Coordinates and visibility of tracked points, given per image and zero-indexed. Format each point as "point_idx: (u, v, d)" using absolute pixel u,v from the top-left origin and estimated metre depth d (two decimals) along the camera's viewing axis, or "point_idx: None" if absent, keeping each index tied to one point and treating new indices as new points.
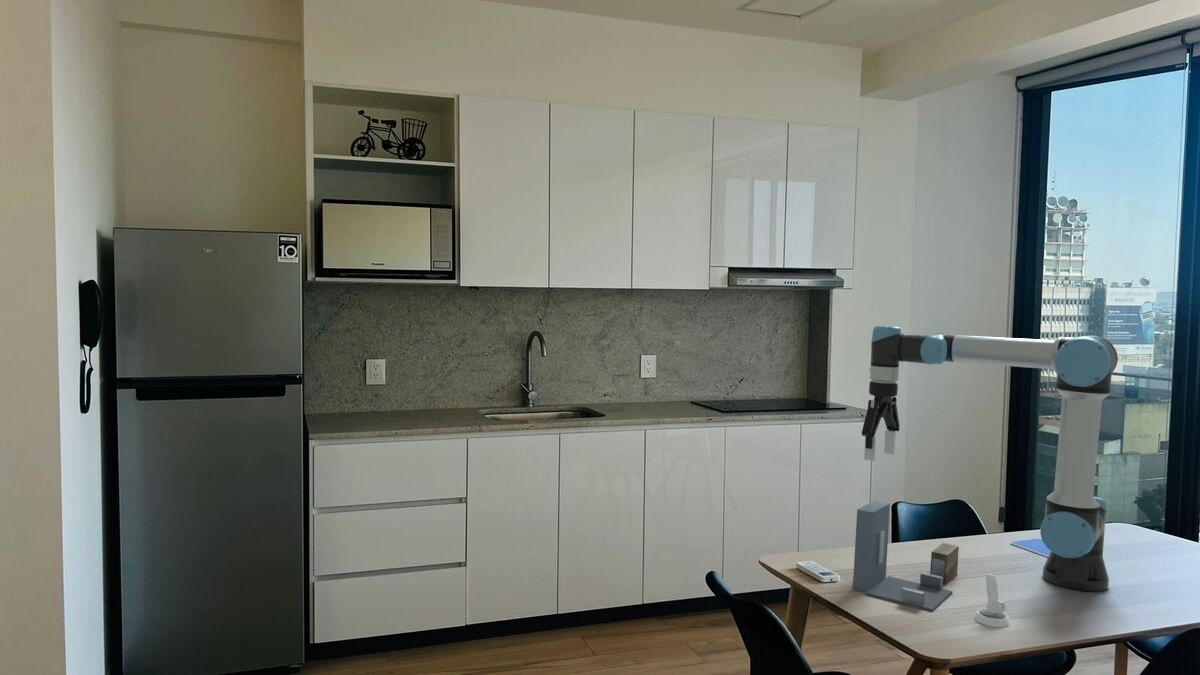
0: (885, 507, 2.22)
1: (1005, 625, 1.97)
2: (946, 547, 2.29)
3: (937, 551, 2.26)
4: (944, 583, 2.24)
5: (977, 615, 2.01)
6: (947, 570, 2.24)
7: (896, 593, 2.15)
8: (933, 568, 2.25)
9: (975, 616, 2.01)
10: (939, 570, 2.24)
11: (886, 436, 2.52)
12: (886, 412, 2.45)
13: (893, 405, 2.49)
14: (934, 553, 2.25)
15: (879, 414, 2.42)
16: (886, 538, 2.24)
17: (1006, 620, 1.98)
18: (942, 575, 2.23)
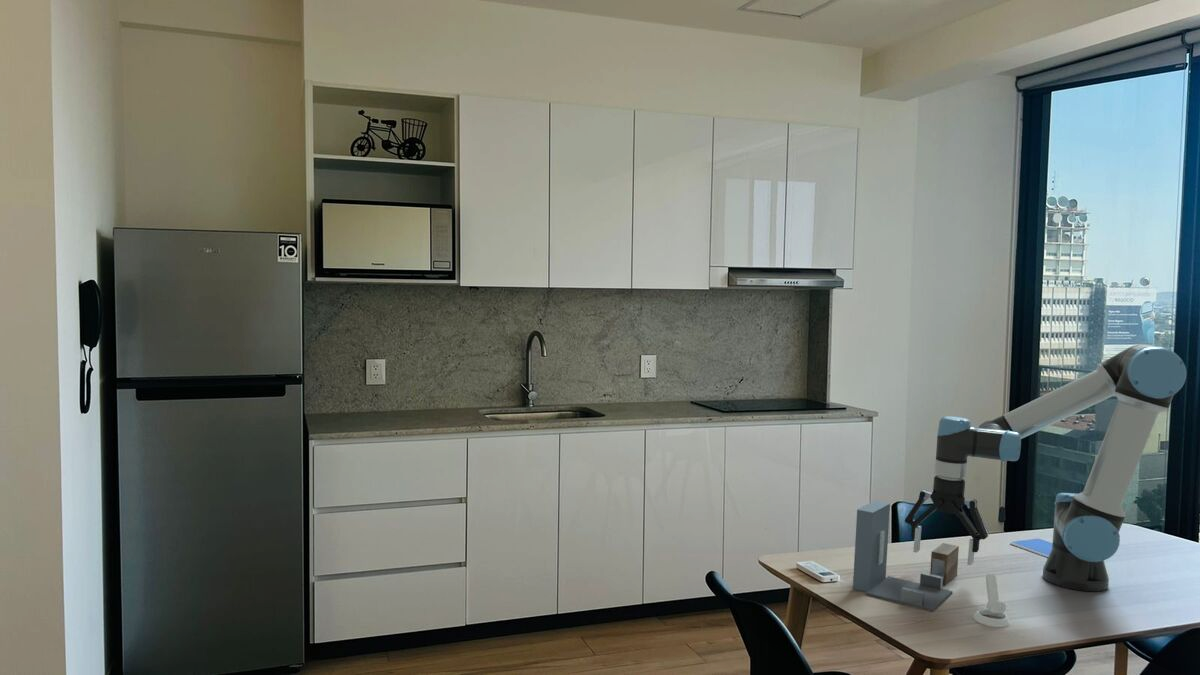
0: (885, 507, 2.22)
1: (1005, 625, 1.97)
2: (945, 547, 2.29)
3: (937, 551, 2.26)
4: (944, 583, 2.24)
5: (977, 615, 2.01)
6: (947, 570, 2.24)
7: (896, 593, 2.15)
8: (933, 568, 2.25)
9: (975, 616, 2.01)
10: (939, 570, 2.24)
11: None
12: (947, 511, 2.26)
13: None
14: (934, 553, 2.25)
15: None
16: (886, 538, 2.24)
17: (1006, 620, 1.98)
18: (942, 575, 2.23)
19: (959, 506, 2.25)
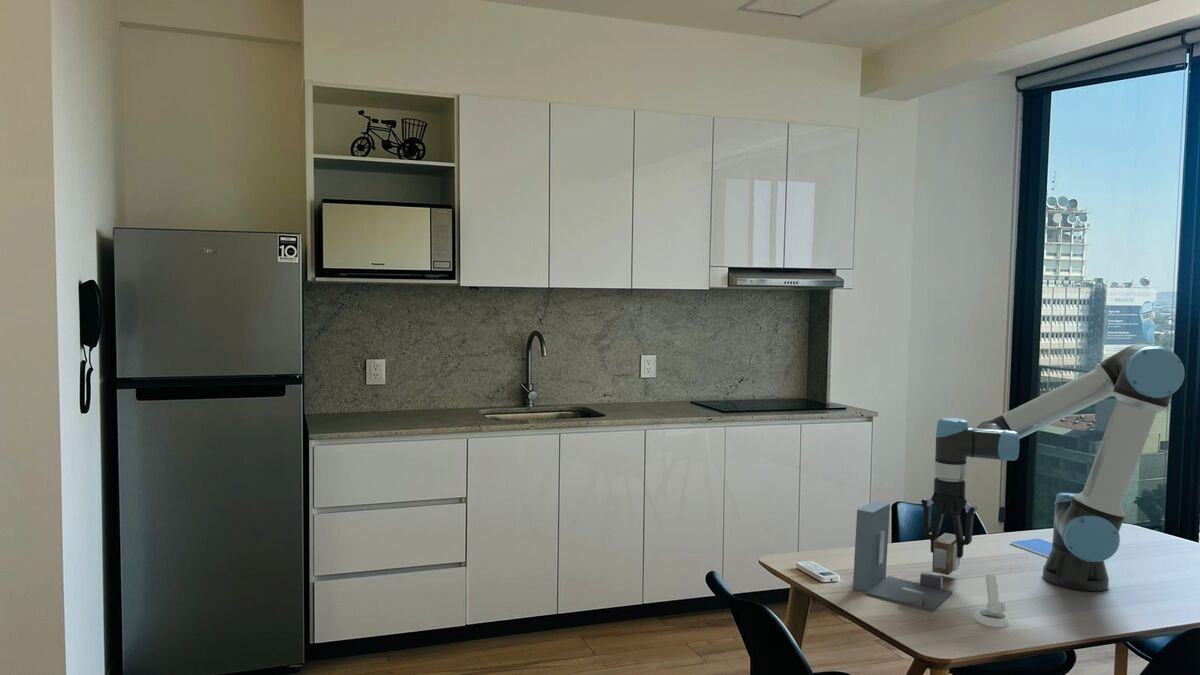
0: (885, 507, 2.22)
1: (1005, 625, 1.97)
2: (947, 537, 2.29)
3: (939, 540, 2.25)
4: (947, 572, 2.23)
5: (977, 615, 2.01)
6: (949, 559, 2.24)
7: (896, 593, 2.15)
8: (935, 558, 2.24)
9: (975, 616, 2.01)
10: (941, 559, 2.23)
11: None
12: (949, 512, 2.26)
13: None
14: (936, 543, 2.25)
15: None
16: (886, 538, 2.24)
17: (1006, 620, 1.98)
18: (944, 564, 2.23)
19: (960, 507, 2.25)
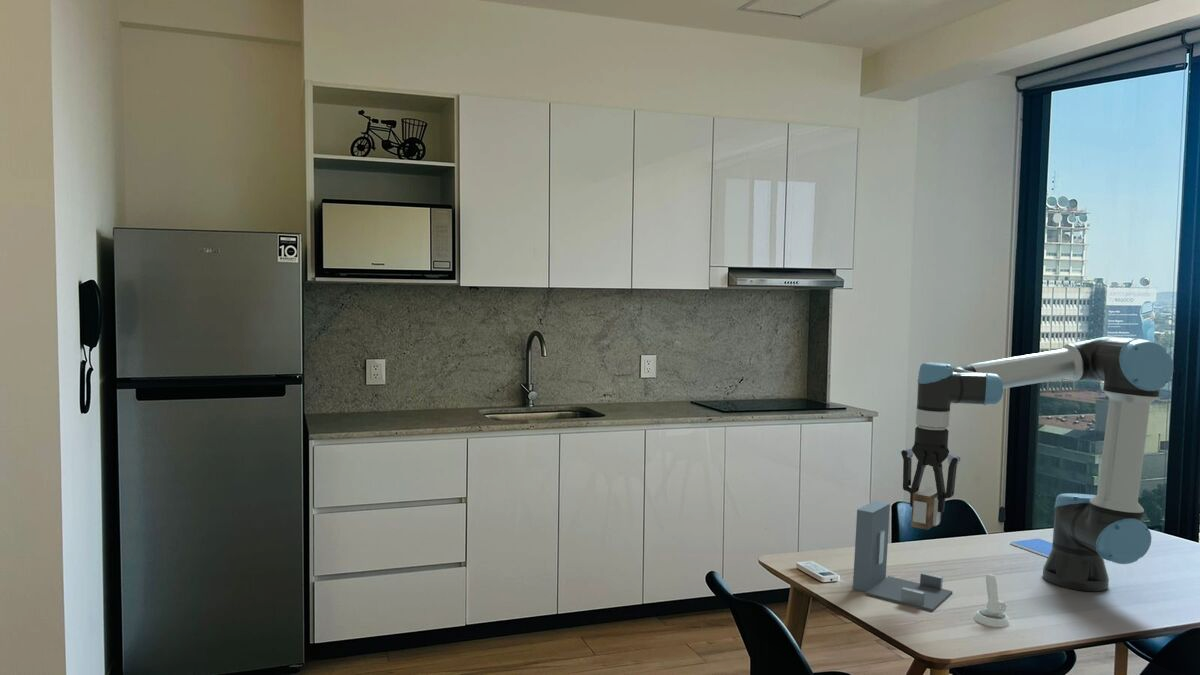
0: (885, 507, 2.22)
1: (1005, 625, 1.97)
2: (928, 490, 2.13)
3: (919, 493, 2.10)
4: (926, 527, 2.08)
5: (977, 615, 2.01)
6: (929, 513, 2.08)
7: (896, 593, 2.15)
8: (914, 511, 2.09)
9: (975, 616, 2.01)
10: (921, 513, 2.08)
11: None
12: (930, 463, 2.11)
13: None
14: (916, 495, 2.09)
15: (917, 466, 2.13)
16: (886, 538, 2.24)
17: (1006, 620, 1.98)
18: (924, 518, 2.08)
19: (942, 458, 2.09)
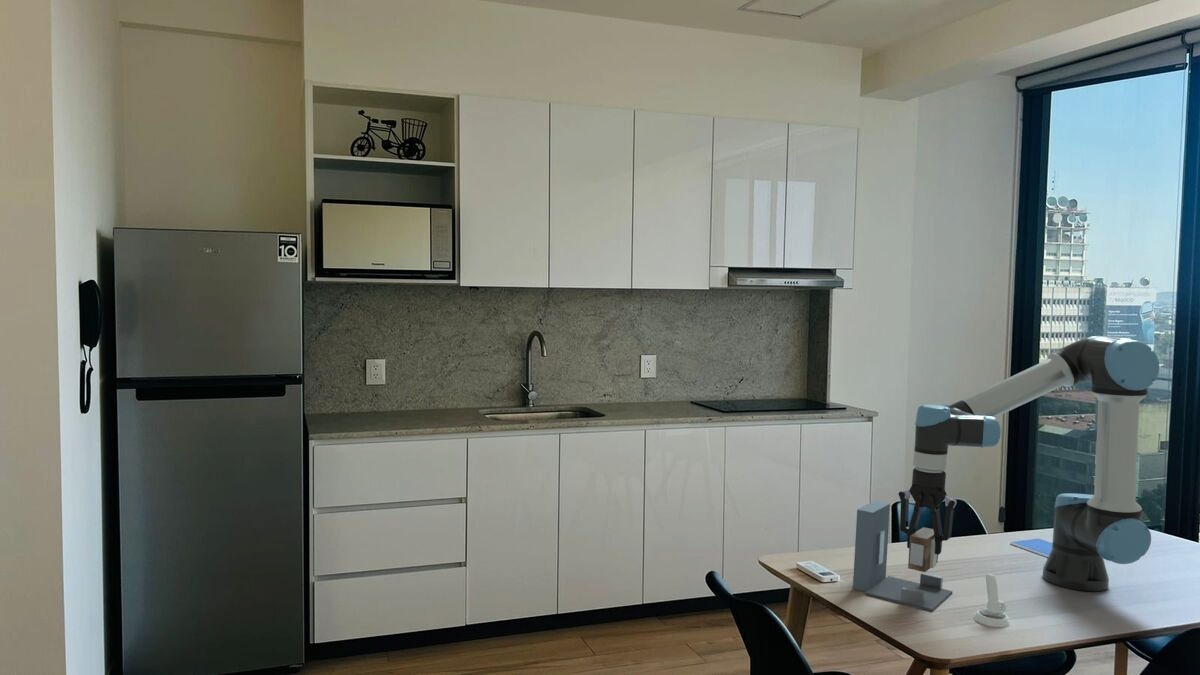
0: (885, 507, 2.22)
1: (1005, 625, 1.97)
2: (925, 532, 2.14)
3: (916, 535, 2.11)
4: (923, 569, 2.09)
5: (977, 615, 2.01)
6: (926, 555, 2.09)
7: (896, 593, 2.15)
8: (912, 553, 2.10)
9: (975, 616, 2.01)
10: (918, 555, 2.09)
11: None
12: (927, 505, 2.12)
13: None
14: (913, 537, 2.10)
15: None
16: (886, 538, 2.24)
17: (1006, 620, 1.98)
18: (921, 561, 2.08)
19: (940, 500, 2.10)
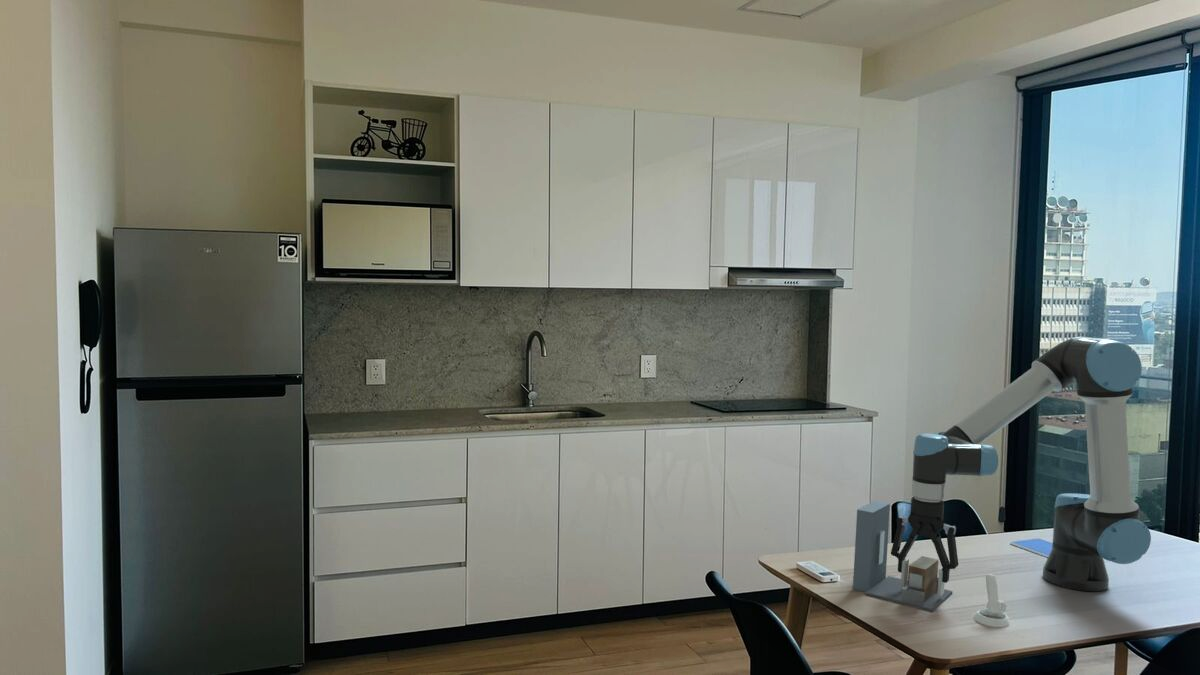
0: (885, 507, 2.22)
1: (1005, 625, 1.97)
2: (924, 561, 2.15)
3: (915, 565, 2.11)
4: None
5: (977, 615, 2.01)
6: (925, 585, 2.10)
7: (896, 593, 2.15)
8: (910, 583, 2.10)
9: (975, 616, 2.01)
10: (917, 585, 2.09)
11: None
12: (926, 534, 2.12)
13: None
14: (911, 567, 2.11)
15: None
16: (886, 538, 2.24)
17: (1006, 620, 1.98)
18: None
19: (938, 529, 2.10)
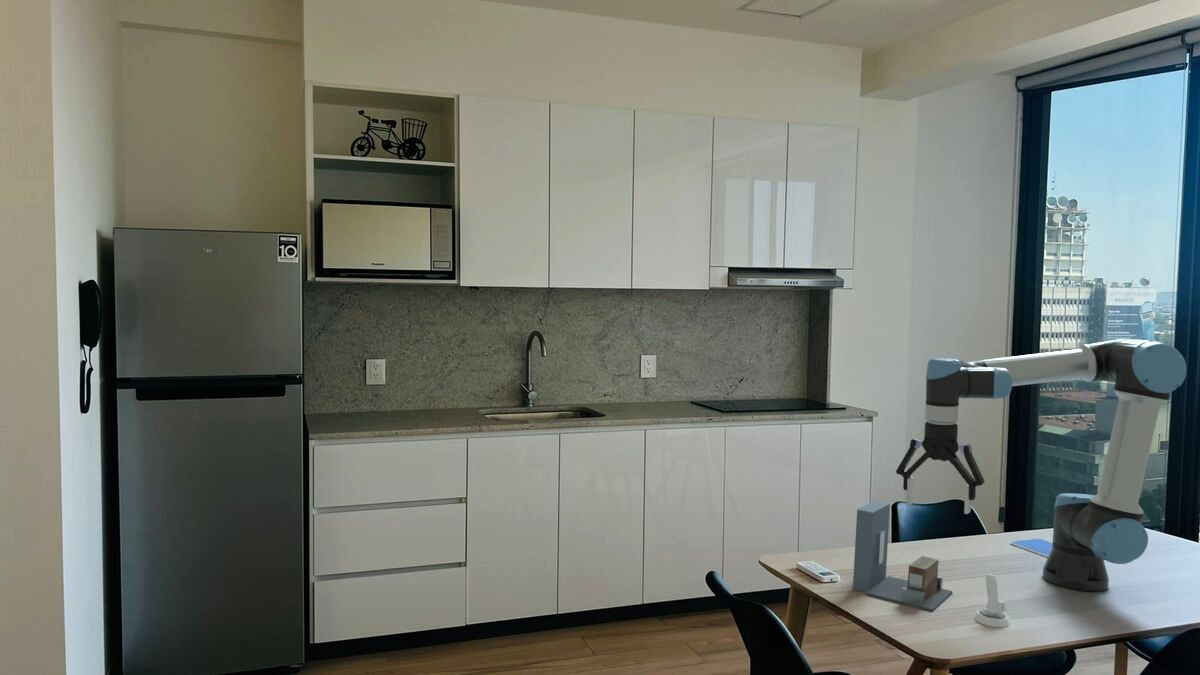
0: (885, 507, 2.22)
1: (1005, 625, 1.97)
2: (924, 561, 2.15)
3: (915, 565, 2.11)
4: None
5: (977, 615, 2.01)
6: (925, 585, 2.10)
7: (896, 593, 2.15)
8: (910, 583, 2.10)
9: (975, 616, 2.01)
10: (917, 585, 2.09)
11: None
12: (941, 458, 2.13)
13: None
14: (911, 567, 2.11)
15: (921, 456, 2.16)
16: (886, 538, 2.24)
17: (1006, 620, 1.98)
18: None
19: (952, 452, 2.12)
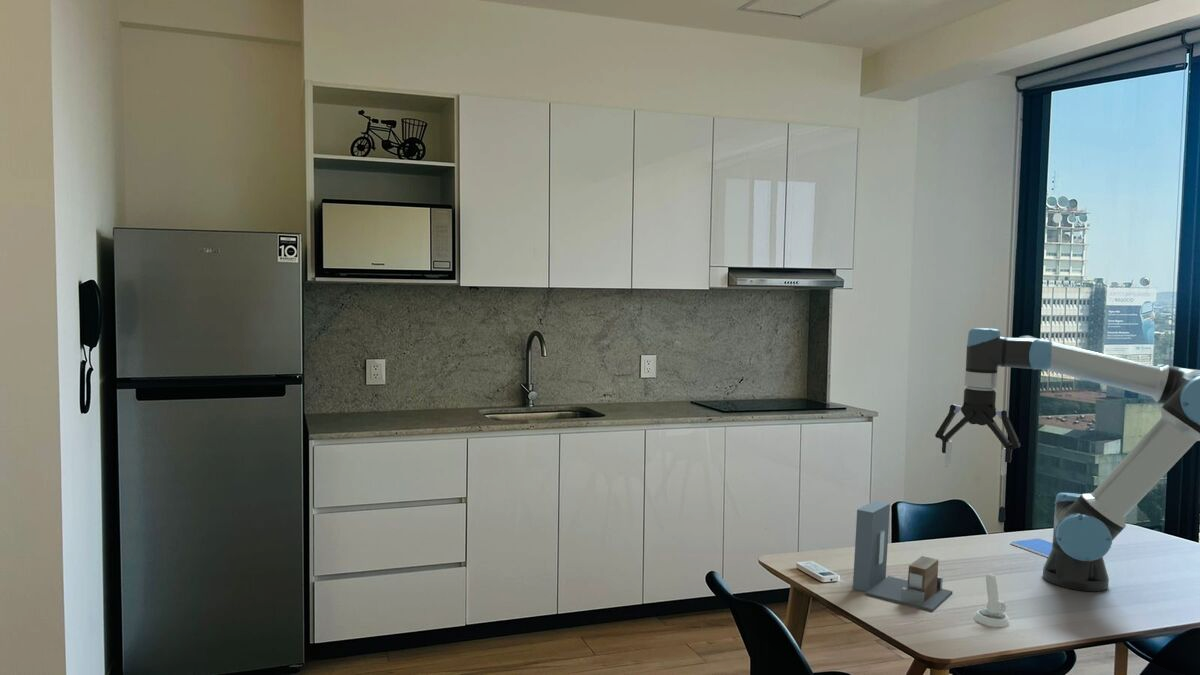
0: (885, 507, 2.22)
1: (1005, 625, 1.97)
2: (924, 561, 2.15)
3: (915, 565, 2.11)
4: None
5: (977, 615, 2.01)
6: (925, 585, 2.10)
7: (896, 593, 2.15)
8: (910, 583, 2.10)
9: (975, 616, 2.01)
10: (917, 585, 2.09)
11: None
12: (979, 422, 2.25)
13: None
14: (911, 567, 2.11)
15: None
16: (886, 538, 2.24)
17: (1006, 620, 1.98)
18: None
19: (990, 417, 2.23)
